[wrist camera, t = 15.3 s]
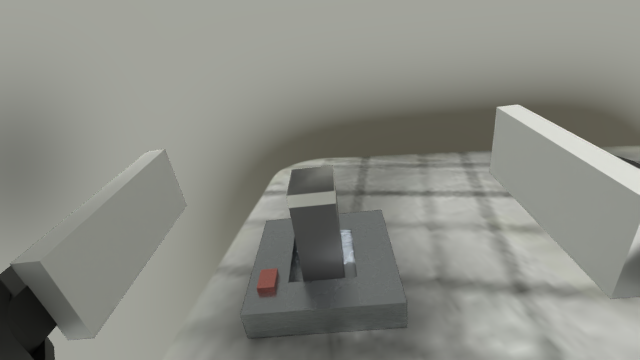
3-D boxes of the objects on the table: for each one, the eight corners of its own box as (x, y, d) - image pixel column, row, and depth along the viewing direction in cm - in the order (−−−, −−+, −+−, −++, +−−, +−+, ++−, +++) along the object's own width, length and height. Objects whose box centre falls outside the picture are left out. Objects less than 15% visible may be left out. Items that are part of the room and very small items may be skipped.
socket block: (382, 230, 41) (380, 205, 39) (407, 327, 28) (406, 297, 27) (271, 240, 42) (265, 216, 40) (248, 338, 29) (238, 310, 28)
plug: (343, 253, 37) (333, 165, 32) (346, 288, 32) (334, 191, 27) (307, 257, 37) (291, 169, 32) (304, 291, 32) (285, 196, 27)
